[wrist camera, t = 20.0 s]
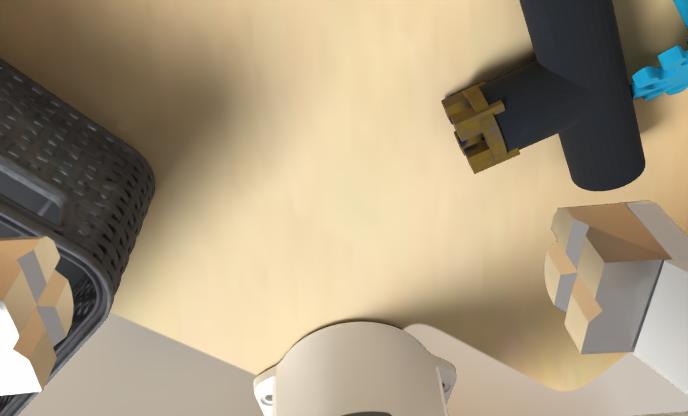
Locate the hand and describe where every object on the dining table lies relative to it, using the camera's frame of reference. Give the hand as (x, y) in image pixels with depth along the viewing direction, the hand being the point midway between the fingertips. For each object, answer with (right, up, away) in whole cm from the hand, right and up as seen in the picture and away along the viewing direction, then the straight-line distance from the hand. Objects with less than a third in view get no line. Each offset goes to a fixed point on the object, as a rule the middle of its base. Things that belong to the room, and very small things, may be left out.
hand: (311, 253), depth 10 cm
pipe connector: (+13, +9, +33) cm, 37 cm away
